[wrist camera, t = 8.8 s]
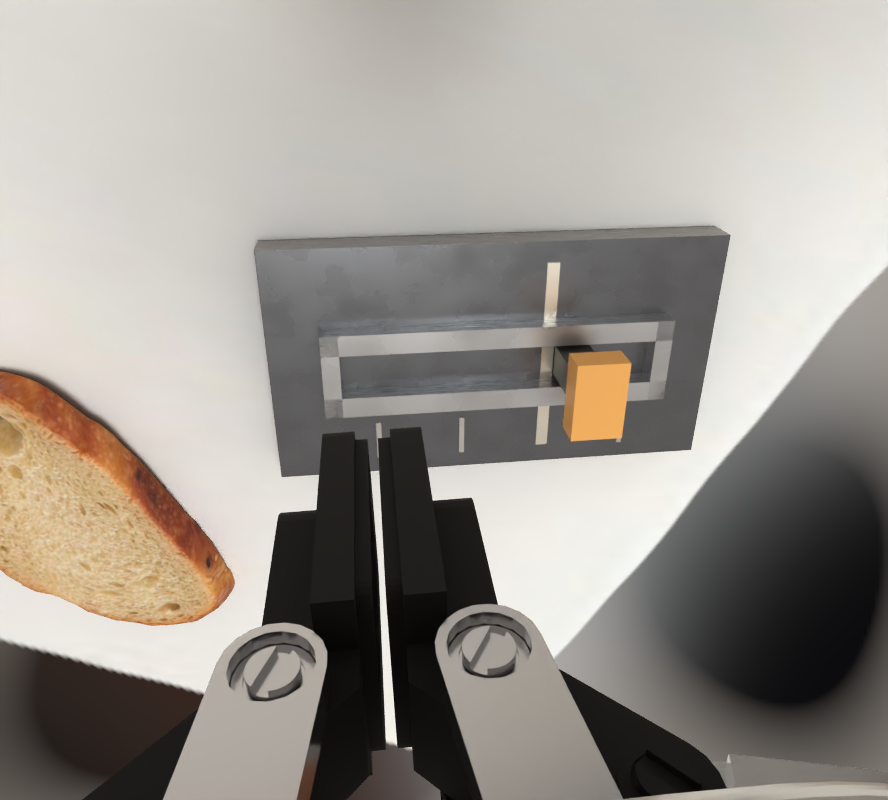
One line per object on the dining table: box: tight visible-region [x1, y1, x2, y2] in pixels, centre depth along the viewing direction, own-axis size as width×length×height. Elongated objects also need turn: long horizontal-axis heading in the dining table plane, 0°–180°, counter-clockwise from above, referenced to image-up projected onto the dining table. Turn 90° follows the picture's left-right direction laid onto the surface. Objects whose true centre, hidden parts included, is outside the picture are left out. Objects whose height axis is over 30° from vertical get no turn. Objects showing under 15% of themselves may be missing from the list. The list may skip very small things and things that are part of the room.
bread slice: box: [0, 371, 235, 626], centre depth 45 cm, size 18×18×4 cm
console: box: [254, 226, 730, 477], centre depth 43 cm, size 26×14×3 cm, turn 90°
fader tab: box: [553, 345, 632, 441], centre depth 40 cm, size 3×4×6 cm, turn 0°
